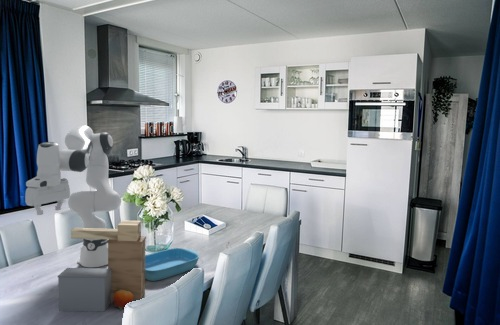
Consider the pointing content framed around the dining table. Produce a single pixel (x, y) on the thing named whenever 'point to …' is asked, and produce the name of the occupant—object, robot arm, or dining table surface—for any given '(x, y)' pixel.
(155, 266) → the casserole dish
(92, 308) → the storage box
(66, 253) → the dining table surface
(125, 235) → the mallet
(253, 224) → the dining table surface
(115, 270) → the shelf block
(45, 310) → the dining table surface
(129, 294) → the fruit
